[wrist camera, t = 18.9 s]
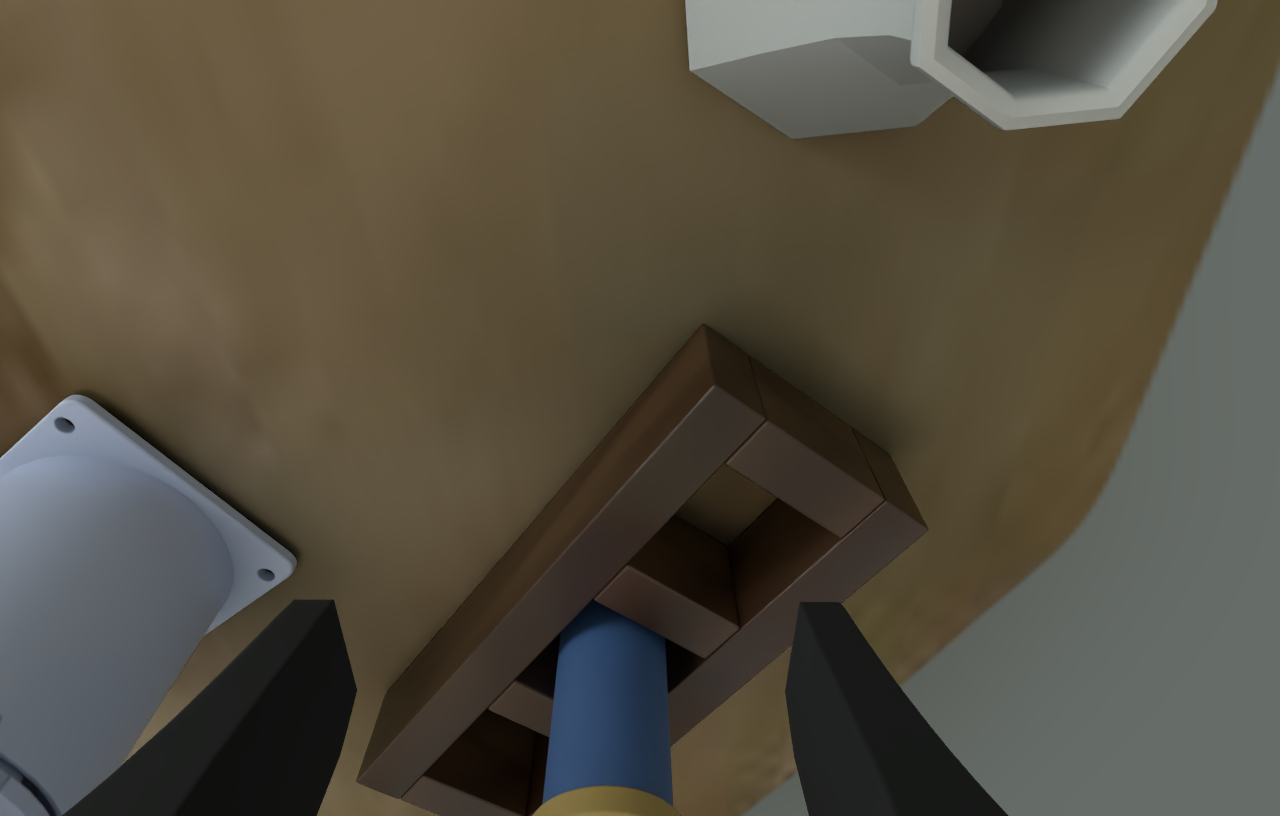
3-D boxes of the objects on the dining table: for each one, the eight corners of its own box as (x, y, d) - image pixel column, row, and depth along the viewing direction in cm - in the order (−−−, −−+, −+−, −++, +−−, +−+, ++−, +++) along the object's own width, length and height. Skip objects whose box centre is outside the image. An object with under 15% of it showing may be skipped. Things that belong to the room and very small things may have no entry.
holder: (384, 694, 28) (354, 783, 25) (702, 322, 21) (714, 384, 18) (549, 766, 30) (540, 856, 27) (890, 454, 23) (929, 529, 20)
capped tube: (605, 643, 27) (593, 923, 19) (533, 578, 25) (488, 854, 17) (694, 593, 26) (721, 870, 18) (624, 522, 24) (620, 792, 16)
